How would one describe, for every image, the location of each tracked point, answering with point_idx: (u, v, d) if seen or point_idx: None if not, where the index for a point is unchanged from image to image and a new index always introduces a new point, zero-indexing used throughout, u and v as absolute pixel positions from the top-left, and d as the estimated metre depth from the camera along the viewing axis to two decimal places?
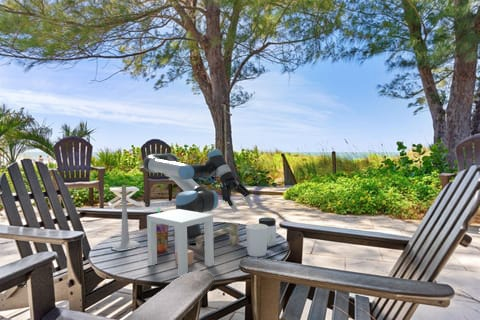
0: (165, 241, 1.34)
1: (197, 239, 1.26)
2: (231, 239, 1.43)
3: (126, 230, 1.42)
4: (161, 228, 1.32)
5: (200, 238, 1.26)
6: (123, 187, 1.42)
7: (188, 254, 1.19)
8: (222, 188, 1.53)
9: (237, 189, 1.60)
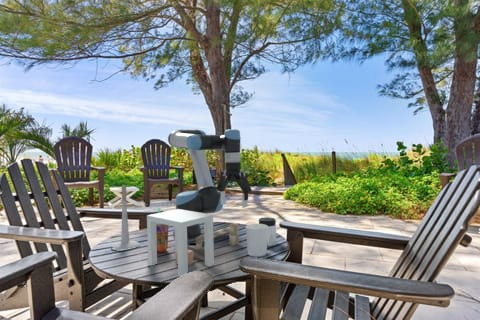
0: (165, 241, 1.34)
1: (197, 239, 1.26)
2: (231, 239, 1.43)
3: (126, 230, 1.42)
4: (161, 228, 1.32)
5: (200, 238, 1.26)
6: (123, 187, 1.42)
7: (188, 254, 1.19)
8: None
9: None
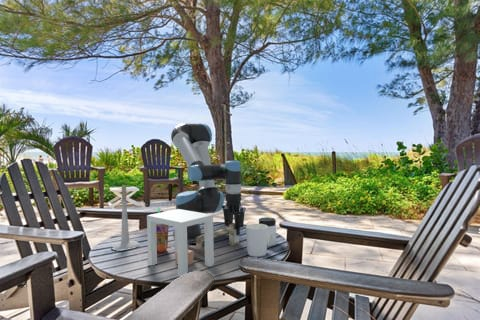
0: (165, 241, 1.34)
1: (197, 239, 1.26)
2: (231, 239, 1.43)
3: (126, 230, 1.42)
4: (161, 228, 1.32)
5: (200, 238, 1.26)
6: (123, 187, 1.42)
7: (188, 254, 1.19)
8: None
9: None
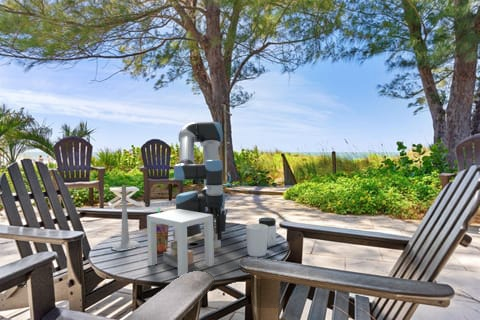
0: (165, 241, 1.34)
1: (172, 245, 1.16)
2: None
3: (126, 230, 1.42)
4: (161, 228, 1.32)
5: (175, 243, 1.16)
6: (123, 187, 1.42)
7: (188, 254, 1.19)
8: None
9: None
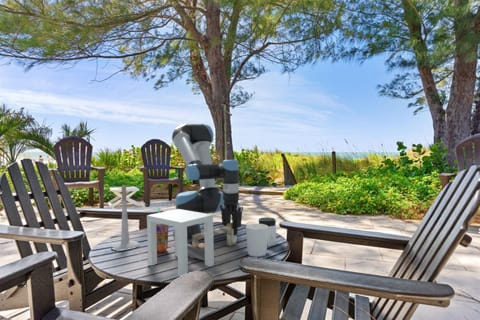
0: (165, 241, 1.34)
1: (193, 237, 1.25)
2: (228, 239, 1.42)
3: (126, 230, 1.42)
4: (161, 228, 1.32)
5: (196, 236, 1.25)
6: (123, 187, 1.42)
7: None
8: None
9: None
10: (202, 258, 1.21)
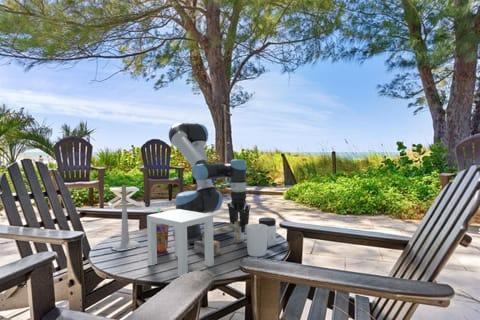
0: (165, 241, 1.34)
1: None
2: (236, 236, 1.46)
3: (126, 230, 1.42)
4: (161, 228, 1.32)
5: None
6: (123, 187, 1.42)
7: (215, 244, 1.31)
8: None
9: None
10: None
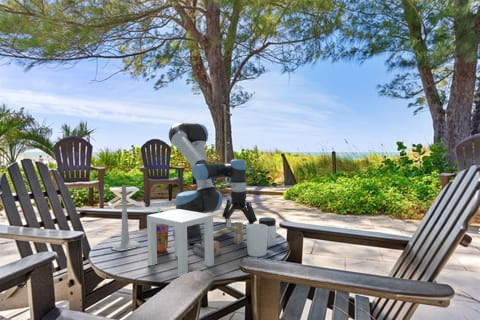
0: (165, 241, 1.34)
1: (203, 237, 1.29)
2: (236, 237, 1.46)
3: (126, 230, 1.42)
4: (161, 228, 1.32)
5: None
6: (123, 187, 1.42)
7: (215, 245, 1.31)
8: None
9: None
10: None
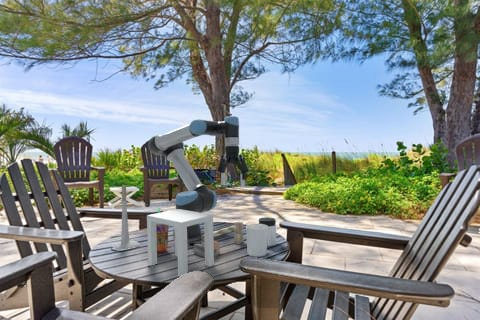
0: (165, 241, 1.34)
1: (203, 237, 1.29)
2: (236, 237, 1.46)
3: (126, 230, 1.42)
4: (161, 228, 1.32)
5: None
6: (123, 187, 1.42)
7: (215, 244, 1.31)
8: None
9: None
10: None
